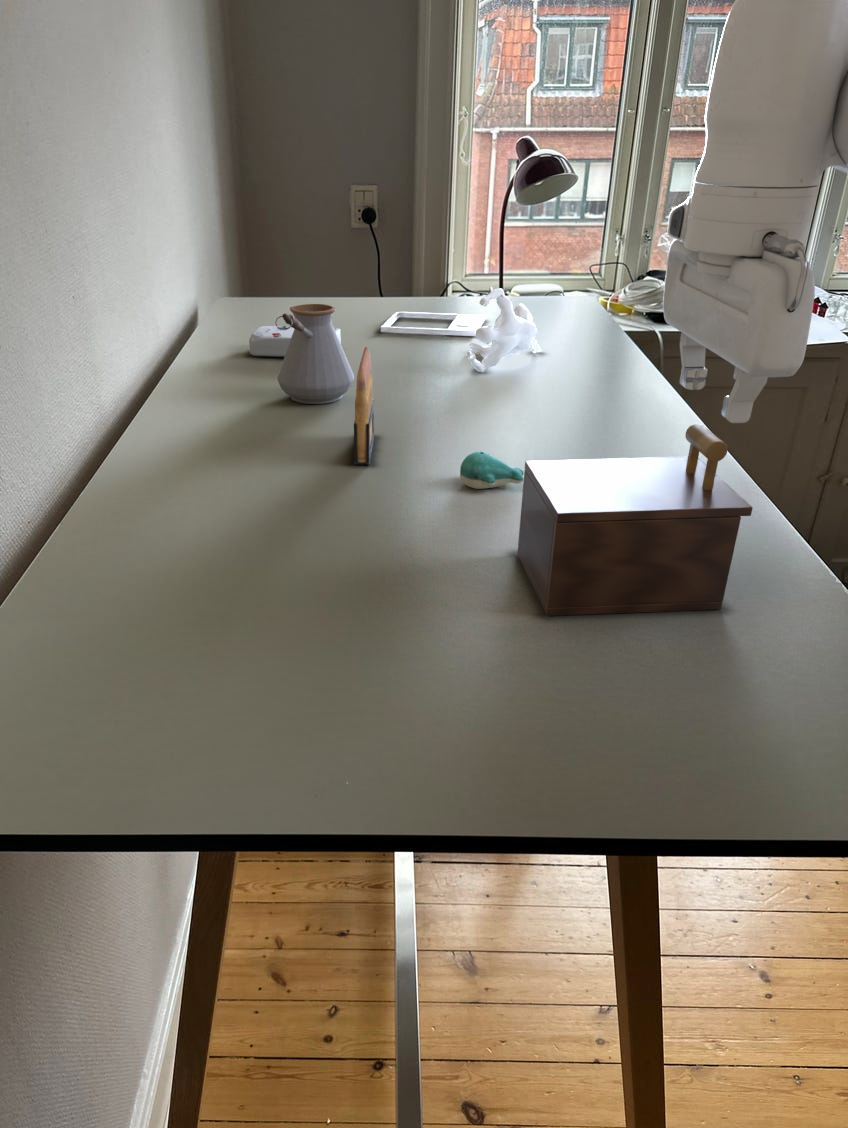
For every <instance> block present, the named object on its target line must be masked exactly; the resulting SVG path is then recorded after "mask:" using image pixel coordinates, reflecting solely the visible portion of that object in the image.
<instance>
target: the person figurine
mask: <svg viewBox="0 0 848 1128" xmlns="http://www.w3.org/2000/svg"><path fill="white" fill-rule="evenodd" d="M494 299H496V304H497V306H498V308H499V309H500V313H499V315H498V316H497V318H495V321H494V324H493V326H492V325H485V326H481V327H480V328H478V329H477V330H476V332H475V339H476V340H477V341H478V342H480V343H483V344H486V345H487V346H484V345H481V344H477V343H473V342H471V343H469V348H470V351H467V352H466V354H465V357H466V359H467V360H469V362H470V364H471V365H472V368H473V369H474V370H475V371H477V372H478V373H484V372H485V371H486V370H487V369H489V368H491V367H495V366H496V365H497V364H498V363H499V362H500V361H501V360H502V359H503V358H508V357H512V356H514V355H520V354H524V353H527V352H528V350H530V349H531V348H532V353H533V354H537V353H538V354H539V353H540V352H542V351H543V350H542V349H541V347H540V343H539V342H538V340H537V338H536V337H537V335H538V329H537V325H536V323H535V322H533V315H532V314H531V312H530V311H529V308H527V306H526V305H524V304H523V303H518V304H517V305H515V308H514V306H513V303H512V302H511V300H510V299H509V298H508V297H507V296H506V295H505V292H504V289H503V288H500V287H498V288H494V289H492V290H491V291H490V292H489V293H488V294H487V295H485V296H483V297H482V298H480V300H479V305H480V306H483V307H487V306H488V305H489V304H490V302H491V301H490V300H494ZM490 343H491V344H490ZM476 354H480V356H481V358H482V360H481V362H480V361H479V360H478V359H476Z"/></svg>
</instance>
